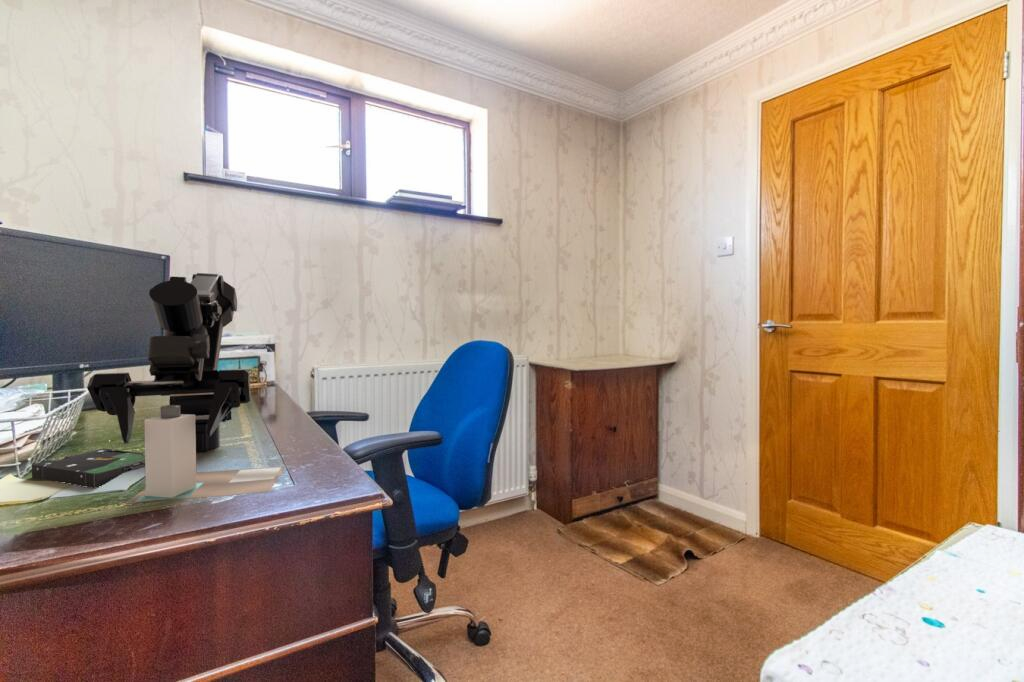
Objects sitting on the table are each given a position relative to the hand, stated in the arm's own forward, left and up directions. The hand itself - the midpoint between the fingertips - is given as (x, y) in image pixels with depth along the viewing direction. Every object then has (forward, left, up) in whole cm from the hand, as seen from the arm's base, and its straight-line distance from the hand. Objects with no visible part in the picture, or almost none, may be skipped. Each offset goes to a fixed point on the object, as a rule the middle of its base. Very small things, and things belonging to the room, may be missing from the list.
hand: (168, 438), depth 62 cm
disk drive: (-18, -16, -10) cm, 26 cm away
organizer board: (-4, +4, -9) cm, 11 cm away
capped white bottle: (-1, 0, -8) cm, 8 cm away
